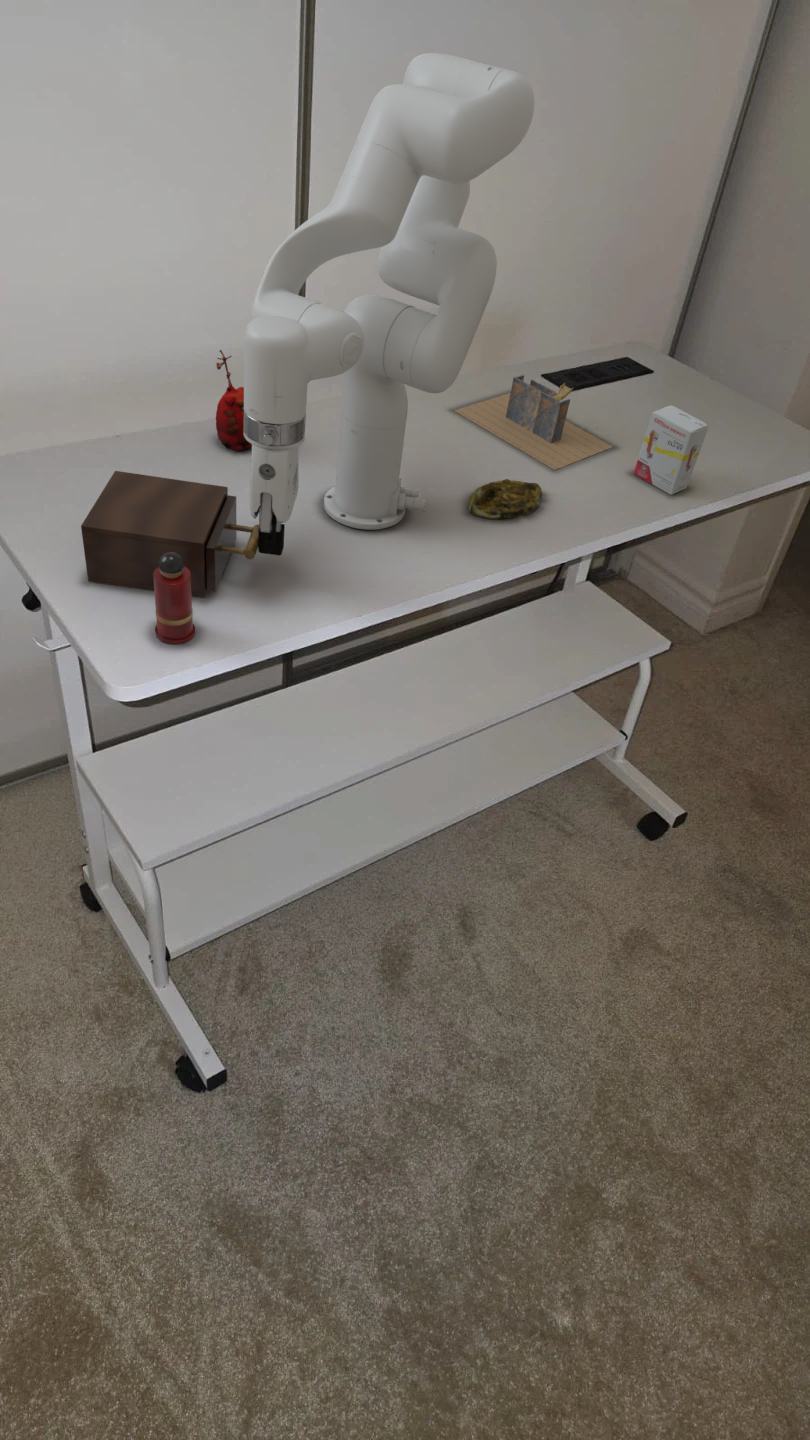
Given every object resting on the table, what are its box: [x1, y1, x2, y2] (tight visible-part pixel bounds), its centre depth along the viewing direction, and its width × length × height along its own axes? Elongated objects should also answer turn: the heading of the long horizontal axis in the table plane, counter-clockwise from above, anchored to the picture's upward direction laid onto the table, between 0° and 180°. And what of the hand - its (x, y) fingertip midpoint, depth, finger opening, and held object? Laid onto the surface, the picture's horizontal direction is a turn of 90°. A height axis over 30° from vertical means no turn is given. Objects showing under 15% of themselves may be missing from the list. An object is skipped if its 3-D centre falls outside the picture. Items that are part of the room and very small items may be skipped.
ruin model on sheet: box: [454, 374, 614, 471], centre depth 172 cm, size 25×16×10 cm, turn 42°
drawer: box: [205, 494, 259, 592], centre depth 130 cm, size 19×13×7 cm
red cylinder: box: [153, 552, 196, 646], centre depth 118 cm, size 5×5×12 cm
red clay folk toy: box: [215, 349, 252, 452], centre depth 154 cm, size 8×7×15 cm
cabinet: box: [80, 470, 229, 599], centre depth 130 cm, size 16×14×9 cm
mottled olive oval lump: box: [468, 478, 543, 521], centre depth 154 cm, size 9×5×15 cm
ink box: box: [633, 405, 709, 496], centre depth 163 cm, size 9×5×12 cm, turn 41°
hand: (271, 550), depth 130 cm, fingers closed
